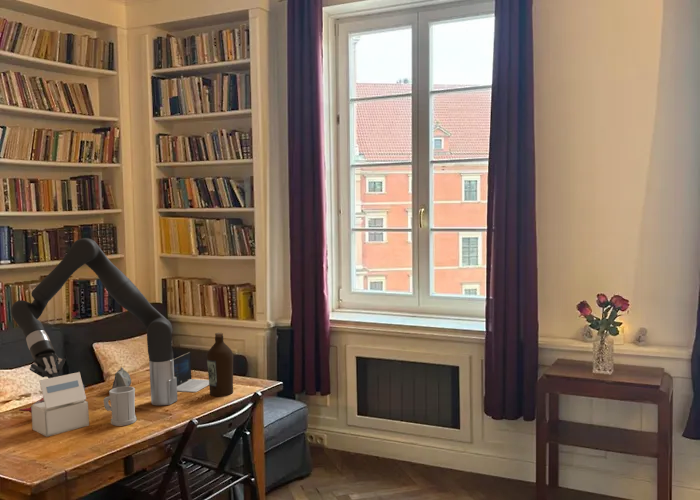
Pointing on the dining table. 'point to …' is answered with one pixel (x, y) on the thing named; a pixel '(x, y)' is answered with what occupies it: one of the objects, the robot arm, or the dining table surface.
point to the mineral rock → (121, 379)
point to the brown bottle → (220, 368)
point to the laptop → (186, 375)
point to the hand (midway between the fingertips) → (56, 383)
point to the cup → (121, 405)
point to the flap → (62, 390)
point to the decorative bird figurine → (32, 405)
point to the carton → (59, 417)
